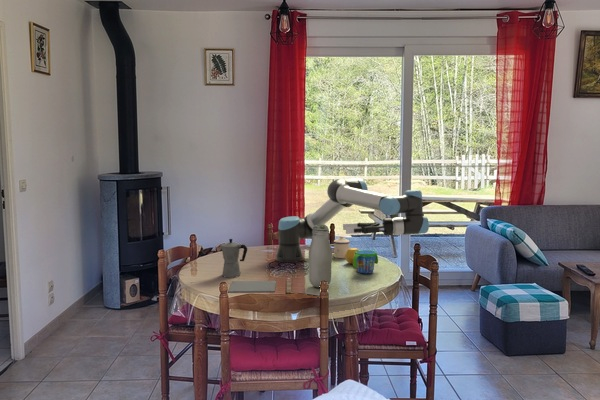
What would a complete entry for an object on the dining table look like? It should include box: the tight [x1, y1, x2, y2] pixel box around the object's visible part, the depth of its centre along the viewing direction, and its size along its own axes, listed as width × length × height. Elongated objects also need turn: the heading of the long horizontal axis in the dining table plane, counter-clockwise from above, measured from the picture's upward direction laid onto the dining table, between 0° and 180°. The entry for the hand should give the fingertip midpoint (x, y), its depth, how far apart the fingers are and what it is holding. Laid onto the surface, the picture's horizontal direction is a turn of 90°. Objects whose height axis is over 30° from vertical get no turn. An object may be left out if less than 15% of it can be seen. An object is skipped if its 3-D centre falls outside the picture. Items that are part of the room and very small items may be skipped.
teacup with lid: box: [330, 235, 351, 259], centre depth 276 cm, size 12×9×12 cm
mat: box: [227, 280, 277, 293], centre depth 219 cm, size 16×20×1 cm
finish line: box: [285, 278, 292, 294], centre depth 218 cm, size 20×2×1 cm, turn 1°
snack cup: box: [352, 249, 379, 275], centre depth 241 cm, size 16×10×10 cm
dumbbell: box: [344, 247, 360, 265], centre depth 254 cm, size 19×9×8 cm, turn 15°
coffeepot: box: [218, 238, 248, 278], centre depth 237 cm, size 15×9×18 cm, turn 68°
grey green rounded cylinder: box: [308, 224, 333, 289], centre depth 217 cm, size 10×10×28 cm
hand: (344, 228), depth 217 cm, fingers open, 13 cm apart
